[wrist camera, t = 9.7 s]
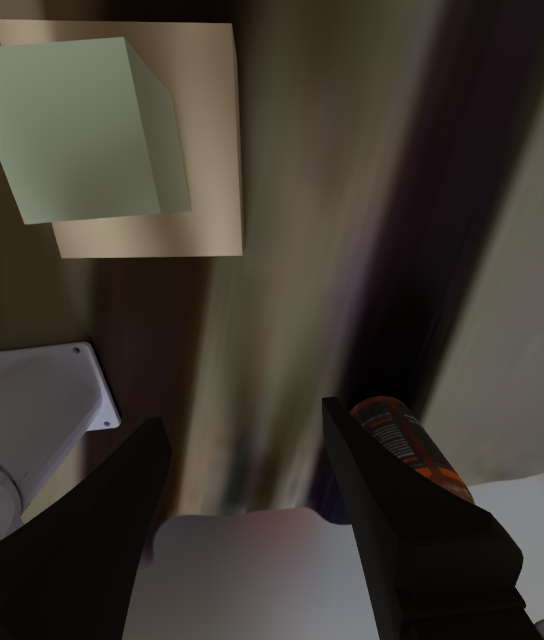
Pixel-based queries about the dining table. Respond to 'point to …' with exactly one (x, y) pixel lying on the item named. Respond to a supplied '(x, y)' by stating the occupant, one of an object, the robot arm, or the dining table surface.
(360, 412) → the supplement bottle
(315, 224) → the dining table surface
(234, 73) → the birch base
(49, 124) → the sage cube
